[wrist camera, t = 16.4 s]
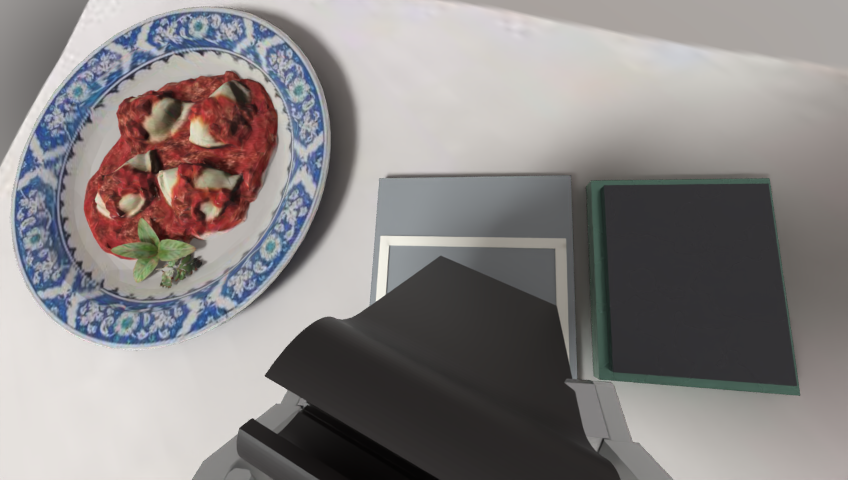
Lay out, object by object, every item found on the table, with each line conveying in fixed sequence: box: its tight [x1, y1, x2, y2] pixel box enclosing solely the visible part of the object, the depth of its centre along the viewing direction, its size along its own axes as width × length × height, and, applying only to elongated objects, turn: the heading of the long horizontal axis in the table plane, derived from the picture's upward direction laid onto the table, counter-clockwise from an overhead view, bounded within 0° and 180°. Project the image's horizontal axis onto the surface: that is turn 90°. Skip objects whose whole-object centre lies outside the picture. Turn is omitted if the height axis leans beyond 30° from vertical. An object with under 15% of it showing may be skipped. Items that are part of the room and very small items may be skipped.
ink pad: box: [586, 178, 800, 396], centre depth 19 cm, size 9×11×2 cm
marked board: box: [370, 175, 577, 379], centre depth 20 cm, size 12×22×1 cm, turn 178°
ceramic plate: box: [10, 7, 331, 350], centre depth 25 cm, size 26×26×3 cm
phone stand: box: [236, 256, 621, 480], centre depth 11 cm, size 9×6×12 cm, turn 155°
